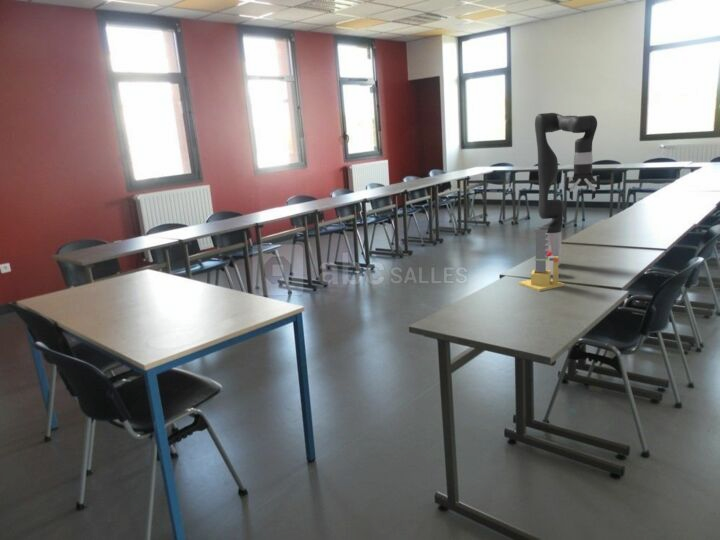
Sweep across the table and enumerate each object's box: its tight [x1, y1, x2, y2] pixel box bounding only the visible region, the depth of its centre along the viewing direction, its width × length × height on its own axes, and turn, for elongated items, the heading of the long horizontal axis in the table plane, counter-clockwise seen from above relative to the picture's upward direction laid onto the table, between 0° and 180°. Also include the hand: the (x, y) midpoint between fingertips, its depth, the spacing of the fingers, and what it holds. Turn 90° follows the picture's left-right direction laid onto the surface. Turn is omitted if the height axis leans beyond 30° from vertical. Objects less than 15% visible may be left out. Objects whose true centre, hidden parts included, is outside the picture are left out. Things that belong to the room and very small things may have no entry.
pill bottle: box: [546, 251, 554, 276], centre depth 255 cm, size 8×8×11 cm
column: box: [534, 227, 548, 272], centre depth 235 cm, size 6×5×19 cm
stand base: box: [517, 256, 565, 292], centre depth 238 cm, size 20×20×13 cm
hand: (582, 199), depth 237 cm, fingers open, 8 cm apart
